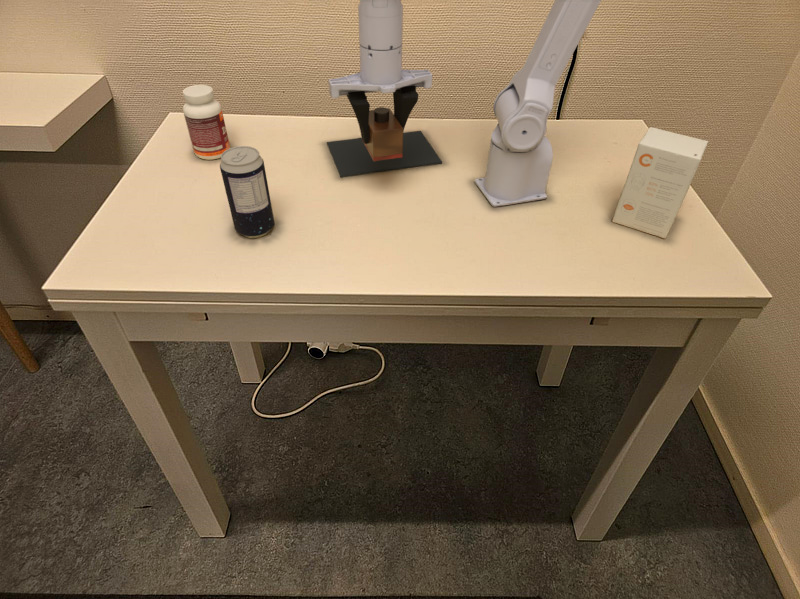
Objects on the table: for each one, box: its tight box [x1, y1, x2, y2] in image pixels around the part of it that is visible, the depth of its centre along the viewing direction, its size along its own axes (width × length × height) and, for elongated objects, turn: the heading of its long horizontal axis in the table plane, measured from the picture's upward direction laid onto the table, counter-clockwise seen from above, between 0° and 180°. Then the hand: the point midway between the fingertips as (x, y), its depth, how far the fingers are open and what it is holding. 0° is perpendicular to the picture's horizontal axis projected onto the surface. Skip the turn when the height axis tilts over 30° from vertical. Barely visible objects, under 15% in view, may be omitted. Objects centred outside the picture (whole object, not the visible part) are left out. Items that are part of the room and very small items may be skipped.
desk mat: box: [326, 130, 443, 178], centre depth 95 cm, size 18×12×1 cm, turn 107°
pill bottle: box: [182, 84, 231, 161], centre depth 90 cm, size 6×6×11 cm
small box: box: [611, 126, 709, 239], centre depth 77 cm, size 8×6×13 cm
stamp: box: [362, 106, 404, 161], centre depth 79 cm, size 4×7×6 cm, turn 17°
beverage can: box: [219, 145, 275, 239], centre depth 74 cm, size 6×6×12 cm
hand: (381, 138), depth 80 cm, fingers closed on stamp, 4 cm apart
